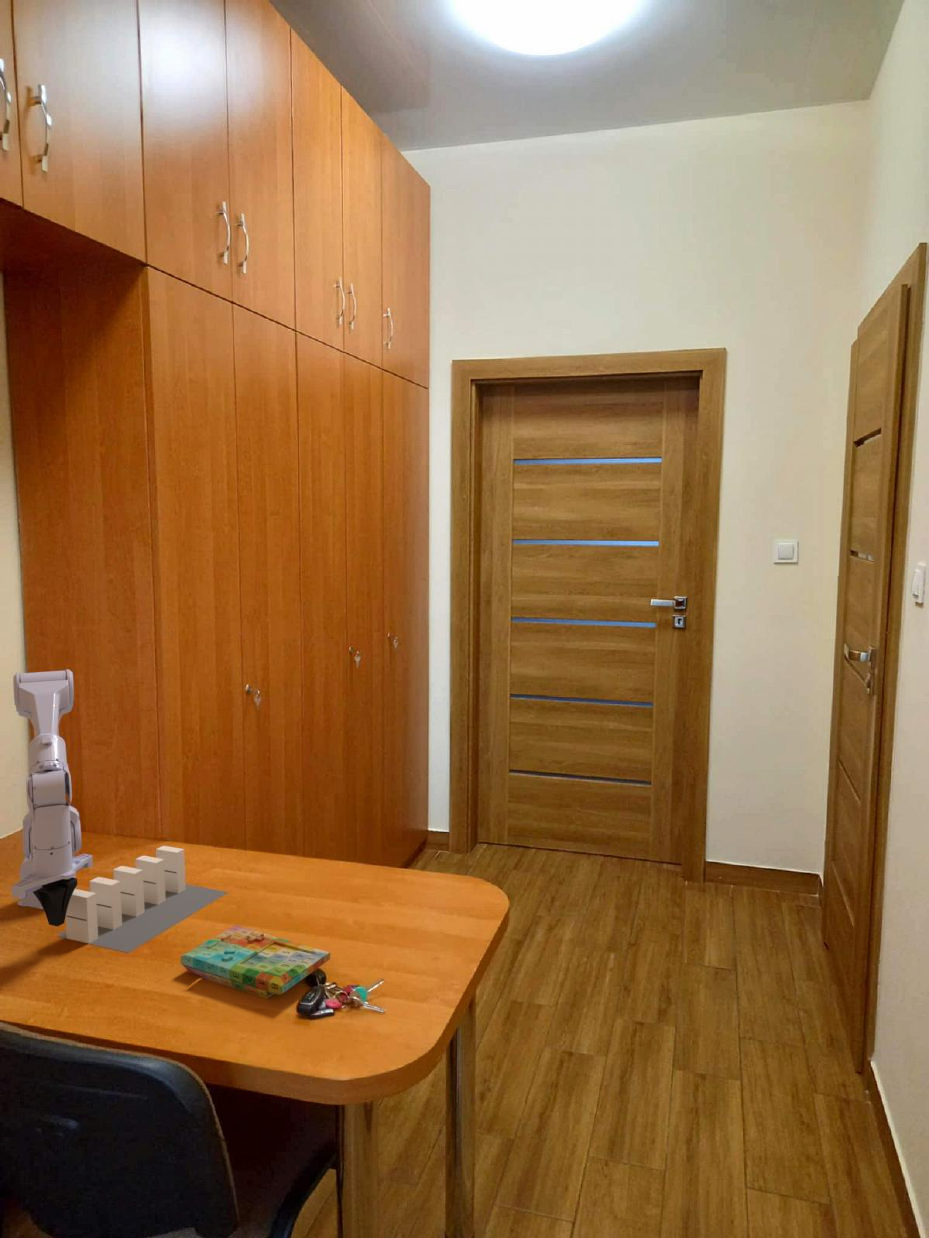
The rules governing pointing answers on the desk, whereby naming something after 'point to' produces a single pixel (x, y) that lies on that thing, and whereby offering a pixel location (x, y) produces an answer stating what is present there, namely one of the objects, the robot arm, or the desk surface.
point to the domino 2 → (107, 902)
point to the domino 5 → (173, 868)
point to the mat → (154, 919)
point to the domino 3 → (130, 890)
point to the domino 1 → (82, 917)
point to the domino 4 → (152, 878)
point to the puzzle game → (253, 961)
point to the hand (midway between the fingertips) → (56, 923)
